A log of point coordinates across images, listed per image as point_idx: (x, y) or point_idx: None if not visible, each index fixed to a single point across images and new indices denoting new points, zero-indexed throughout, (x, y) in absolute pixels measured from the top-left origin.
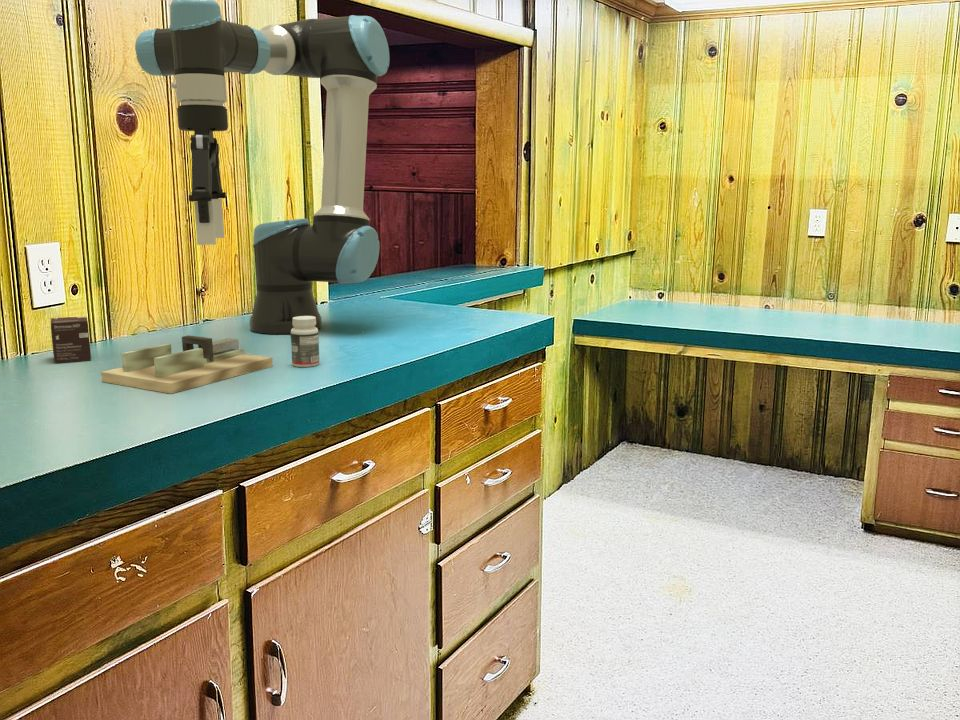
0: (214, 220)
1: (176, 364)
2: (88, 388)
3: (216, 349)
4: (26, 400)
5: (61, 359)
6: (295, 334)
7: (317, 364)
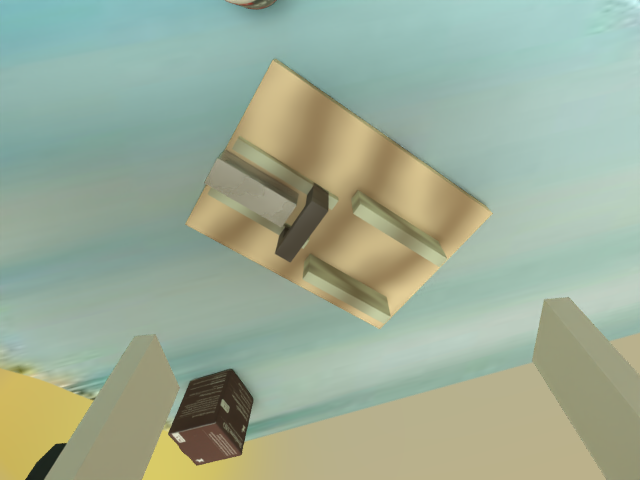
0: (131, 440)
1: (412, 230)
2: (417, 322)
3: (278, 189)
4: (469, 365)
5: (249, 397)
6: None
7: None
